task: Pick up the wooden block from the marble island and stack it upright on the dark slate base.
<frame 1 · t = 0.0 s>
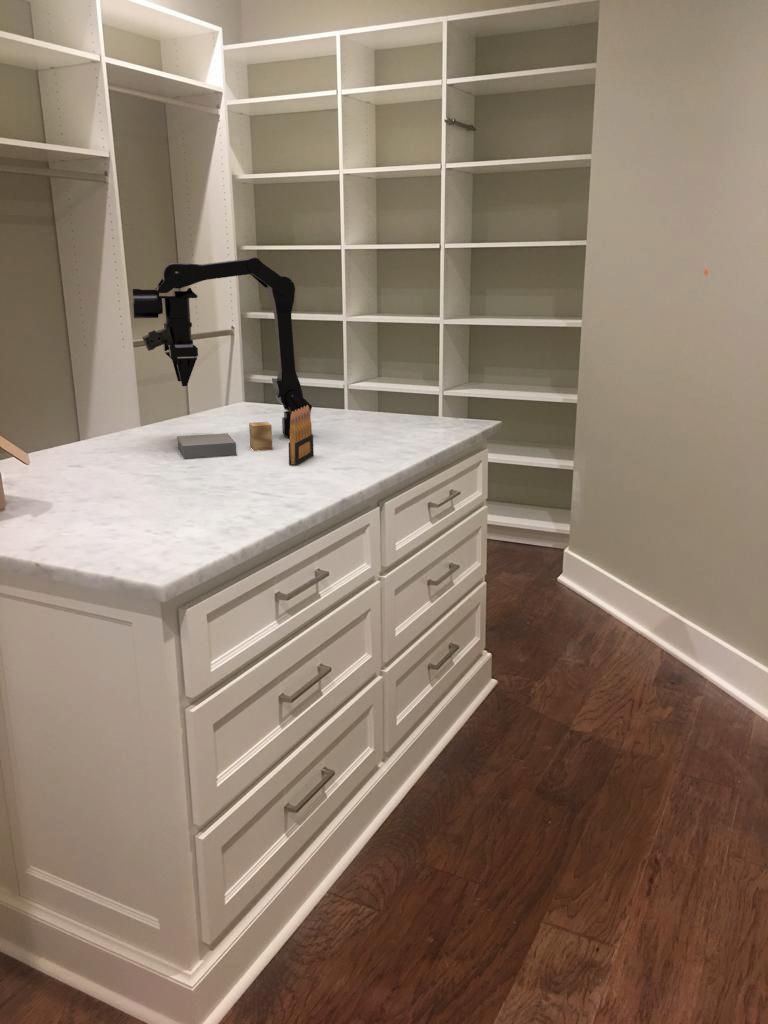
hand: (182, 383, 205), 15 cm above the countertop, fingers open, 9 cm apart
wooden block: (261, 448, 203), on the countertop
slate base: (206, 451, 199), on the countertop
ammunition clip: (301, 461, 191), on the countertop
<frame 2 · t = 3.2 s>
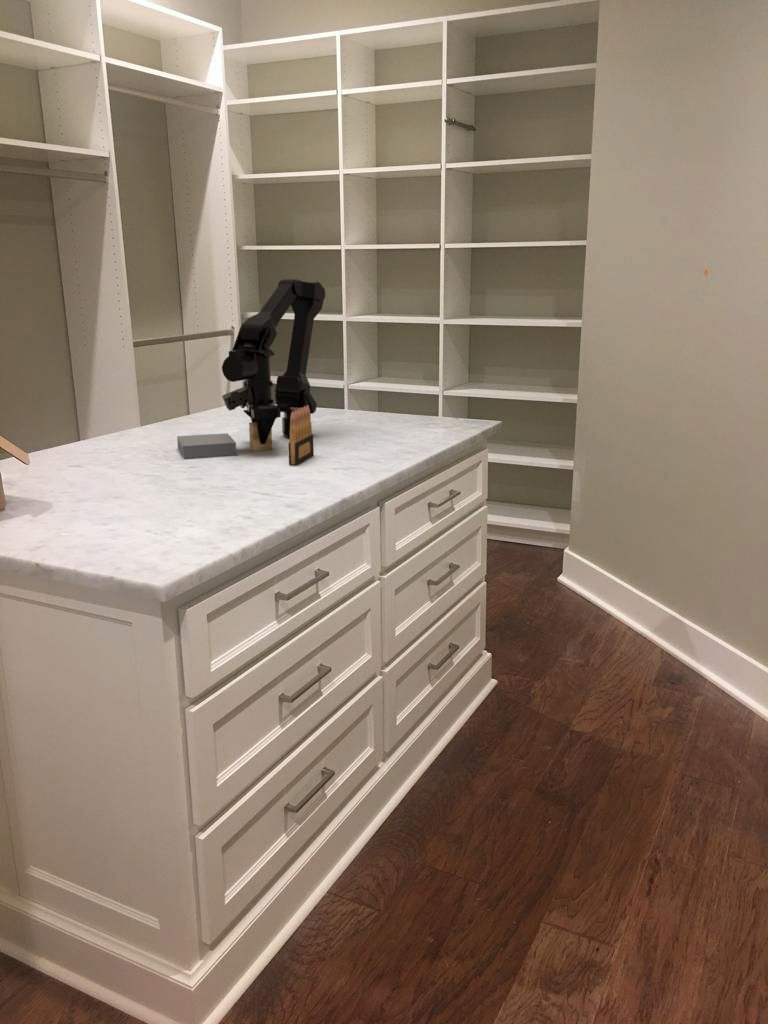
hand: (260, 441, 203), 2 cm above the countertop, fingers closed on wooden block, 4 cm apart
wooden block: (261, 448, 203), on the countertop, touching gripper
everything else where it was.
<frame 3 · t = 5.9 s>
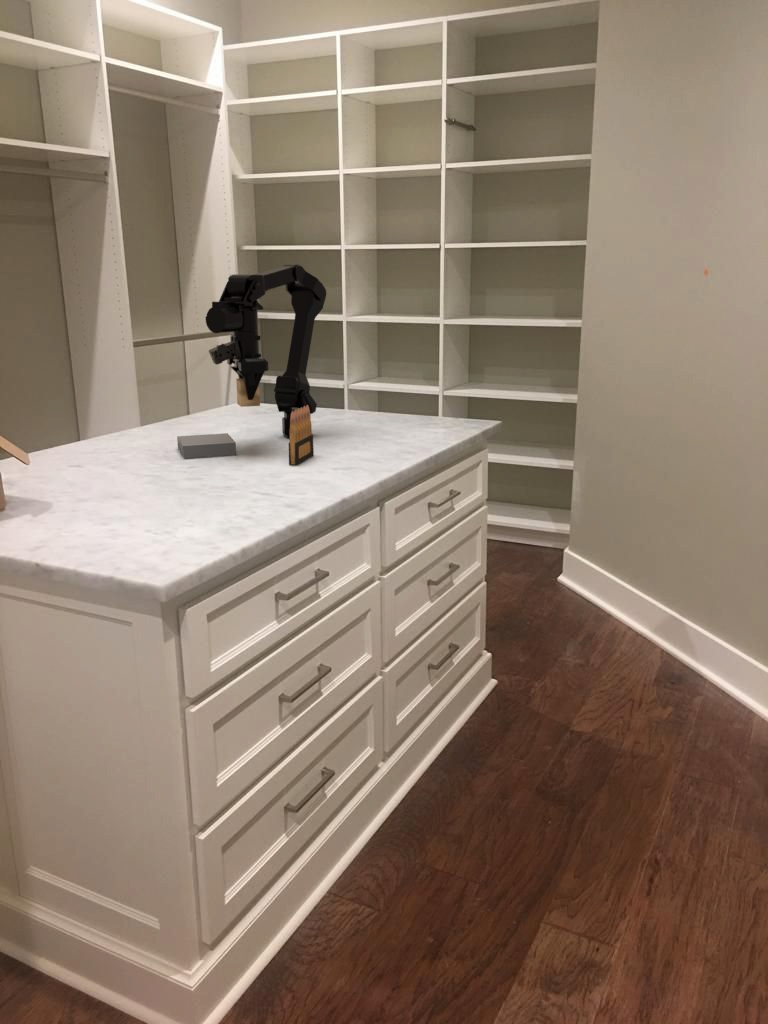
hand: (248, 398, 199), 12 cm above the countertop, fingers closed on wooden block, 4 cm apart
wooden block: (248, 404, 199), point 11 cm above the countertop, touching gripper
everything else where it was.
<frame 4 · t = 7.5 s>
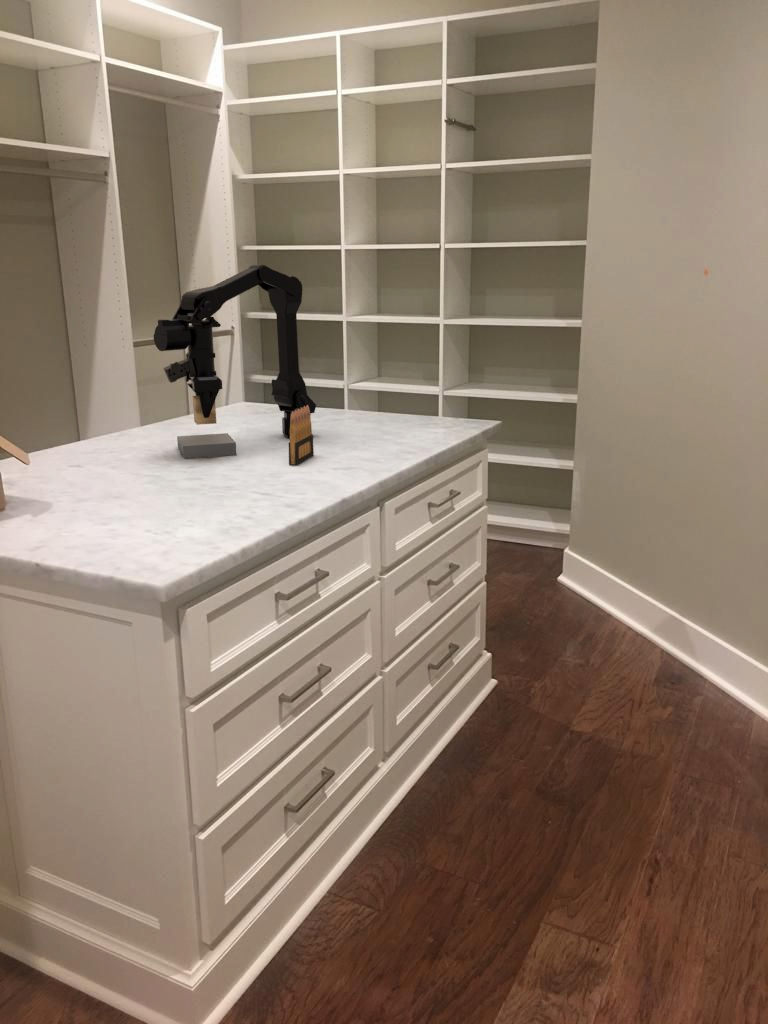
hand: (204, 415, 197), 9 cm above the countertop, fingers closed on wooden block, 4 cm apart
wooden block: (205, 422, 197), point 7 cm above the countertop, touching gripper
everything else where it was.
when the fingers open (5 cm above the countertop, at t = 8.9 s): wooden block stays where it is, resting on slate base.
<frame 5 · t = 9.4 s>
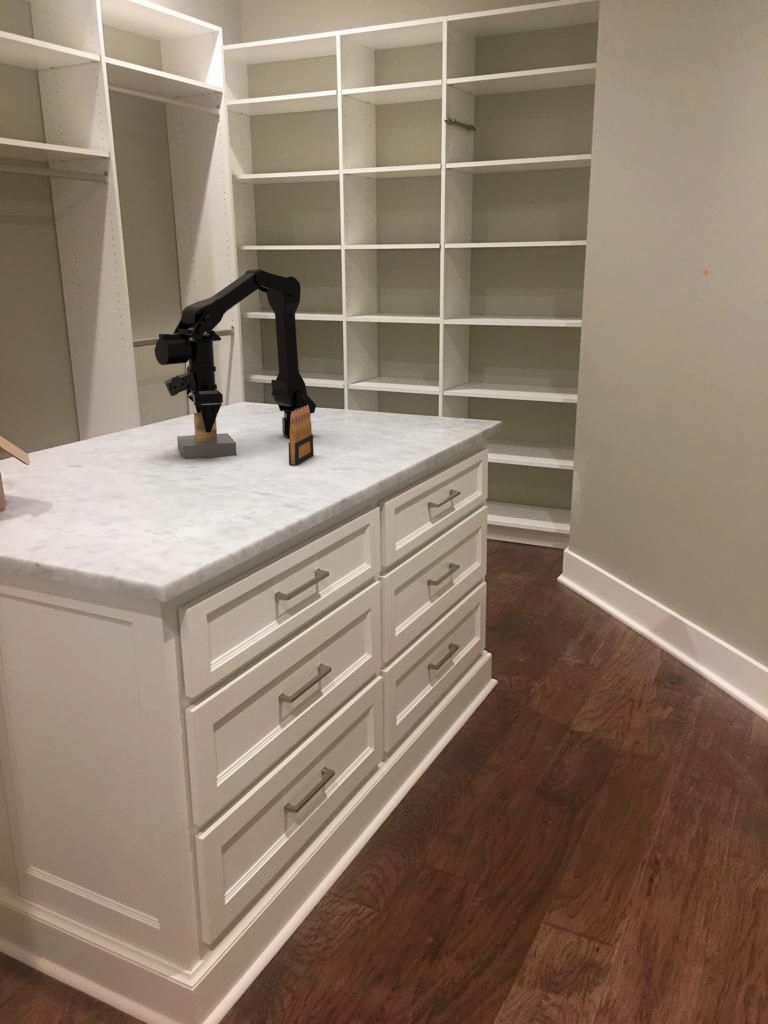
hand: (205, 428, 198), 5 cm above the countertop, fingers open, 9 cm apart
wooden block: (206, 439, 198), point 3 cm above the countertop, touching slate base
everything else where it was.
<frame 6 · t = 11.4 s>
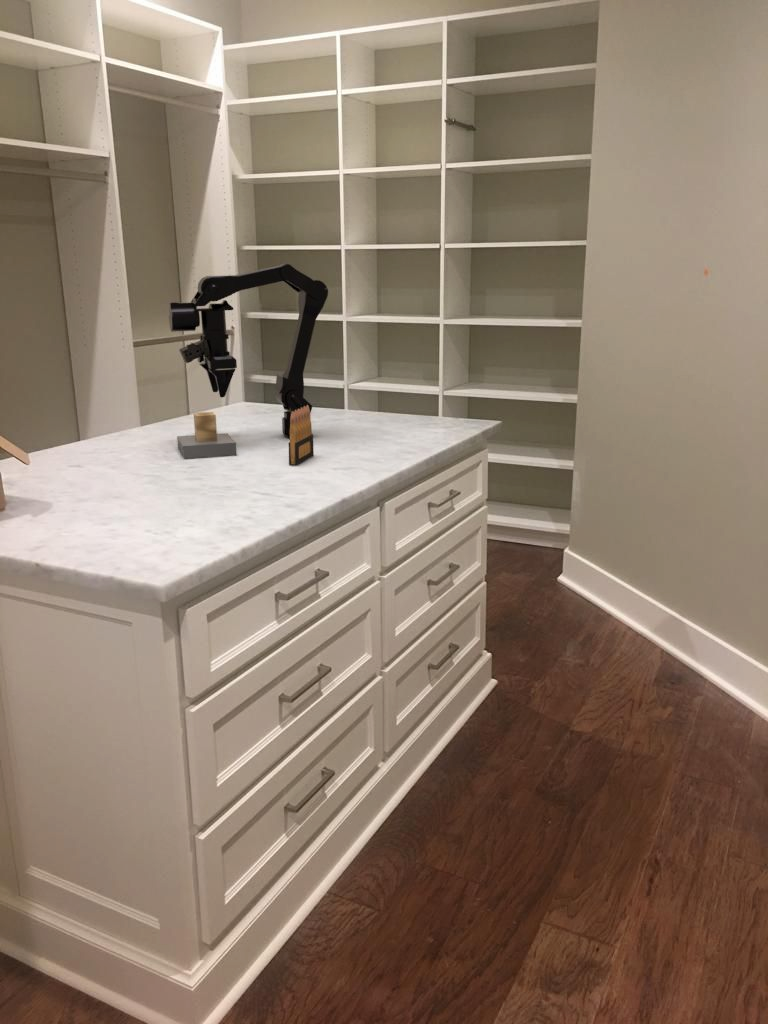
hand: (218, 394, 208), 12 cm above the countertop, fingers open, 9 cm apart
nothing on the countertop moved.
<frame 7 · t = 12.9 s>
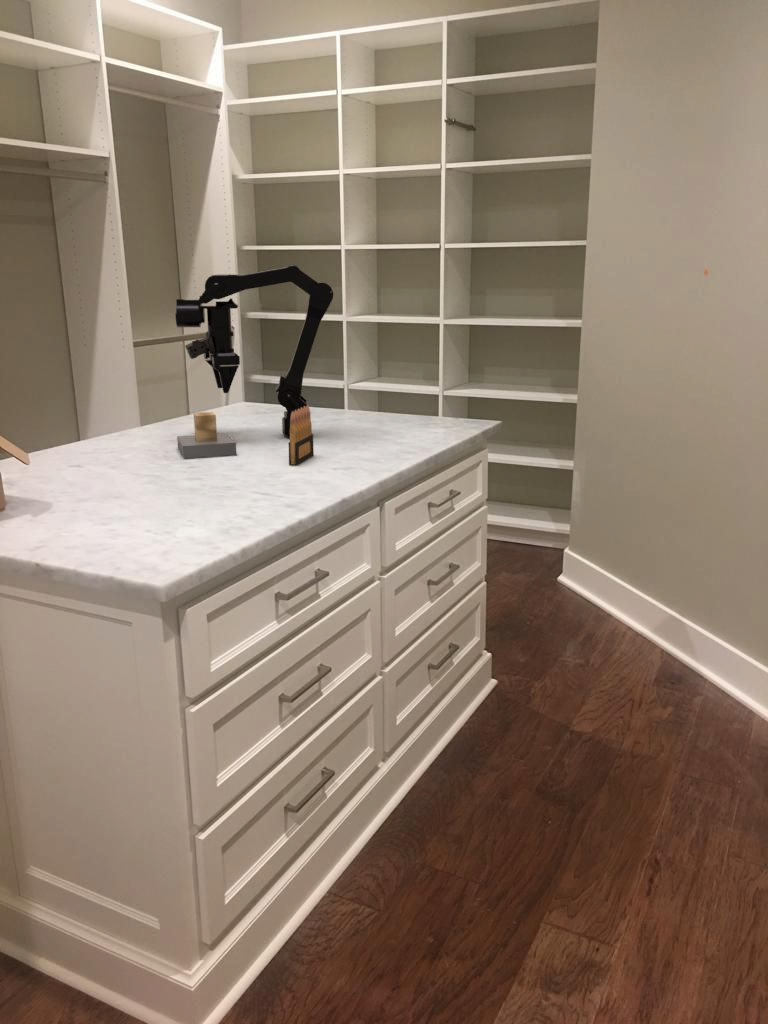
hand: (222, 390, 213), 12 cm above the countertop, fingers open, 9 cm apart
nothing on the countertop moved.
at the end: wooden block 0.0 cm off-centre on the slate base, point 3.0 cm above the slate base's base; wooden block tilted 0°; the gripper is holding nothing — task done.
